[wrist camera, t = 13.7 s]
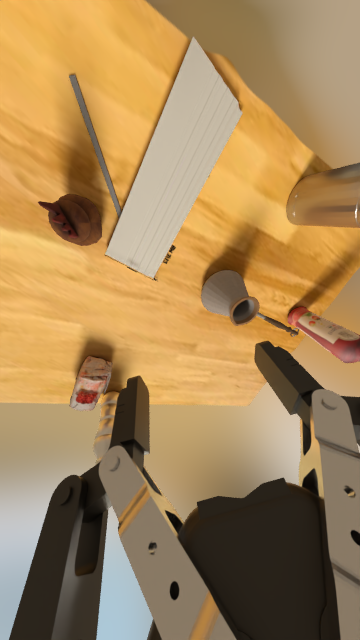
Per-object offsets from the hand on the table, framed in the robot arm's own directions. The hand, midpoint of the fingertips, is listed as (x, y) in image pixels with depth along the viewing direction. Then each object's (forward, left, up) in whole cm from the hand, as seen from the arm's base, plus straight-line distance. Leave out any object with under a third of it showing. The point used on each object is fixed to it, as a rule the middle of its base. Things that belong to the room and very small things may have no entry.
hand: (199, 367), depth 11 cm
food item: (+26, +25, -31) cm, 48 cm away
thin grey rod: (+4, -16, -31) cm, 35 cm away
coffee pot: (-18, +14, -31) cm, 38 cm away
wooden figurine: (+10, -10, -31) cm, 34 cm away
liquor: (-40, +28, -31) cm, 58 cm away
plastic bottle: (+26, +38, -31) cm, 55 cm away
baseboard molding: (-6, -12, -31) cm, 33 cm away
